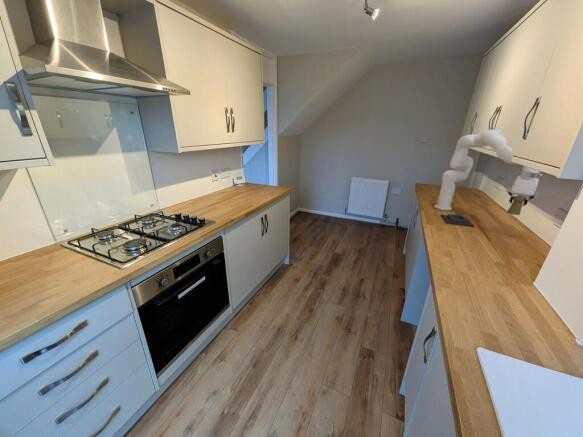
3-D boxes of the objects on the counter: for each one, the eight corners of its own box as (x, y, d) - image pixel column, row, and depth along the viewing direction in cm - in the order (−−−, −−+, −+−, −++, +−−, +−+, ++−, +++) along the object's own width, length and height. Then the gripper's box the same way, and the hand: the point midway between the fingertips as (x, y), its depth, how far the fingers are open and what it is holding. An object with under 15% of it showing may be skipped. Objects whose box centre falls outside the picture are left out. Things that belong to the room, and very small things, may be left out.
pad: (441, 215, 181) (442, 212, 180) (465, 218, 176) (466, 214, 175) (446, 223, 166) (448, 219, 165) (473, 226, 162) (474, 222, 161)
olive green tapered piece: (522, 215, 143) (529, 198, 138) (510, 214, 144) (518, 197, 139) (515, 211, 148) (522, 195, 144) (504, 211, 149) (511, 194, 145)
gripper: (550, 176, 133) (536, 206, 140) (511, 171, 145) (500, 199, 152) (549, 178, 128) (535, 209, 136) (509, 173, 140) (498, 202, 147)
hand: (517, 204), depth 144 cm, fingers closed on olive green tapered piece, 5 cm apart
